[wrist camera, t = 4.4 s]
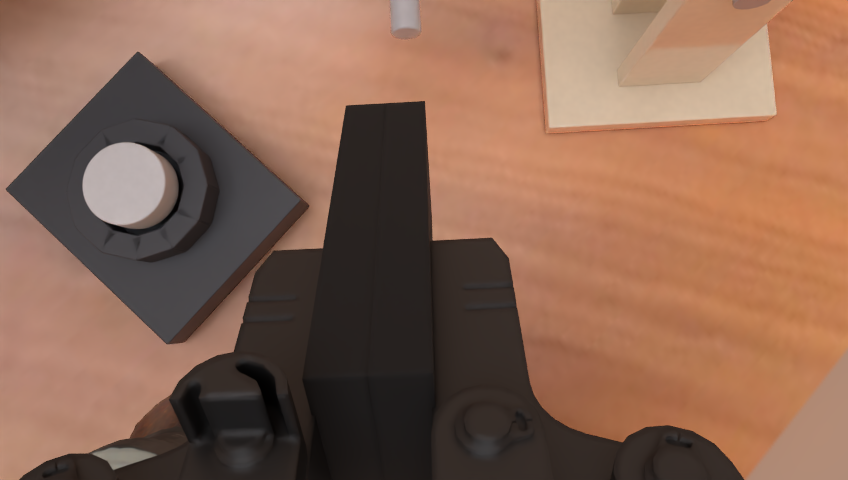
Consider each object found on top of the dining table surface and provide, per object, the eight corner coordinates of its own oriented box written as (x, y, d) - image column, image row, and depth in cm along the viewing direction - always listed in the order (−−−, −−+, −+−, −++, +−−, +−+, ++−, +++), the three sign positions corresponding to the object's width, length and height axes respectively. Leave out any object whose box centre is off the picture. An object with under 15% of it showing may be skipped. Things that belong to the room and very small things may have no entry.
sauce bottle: (293, 506, 35) (103, 756, 16) (205, 427, 36) (-85, 571, 16) (375, 409, 36) (291, 533, 16) (287, 332, 36) (100, 360, 16)
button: (83, 192, 34) (64, 186, 32) (139, 134, 34) (123, 124, 32) (140, 246, 33) (123, 242, 32) (196, 186, 34) (182, 179, 32)
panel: (30, 196, 37) (-19, 182, 33) (155, 65, 38) (121, 37, 34) (183, 342, 36) (151, 347, 32) (309, 206, 37) (293, 193, 33)
